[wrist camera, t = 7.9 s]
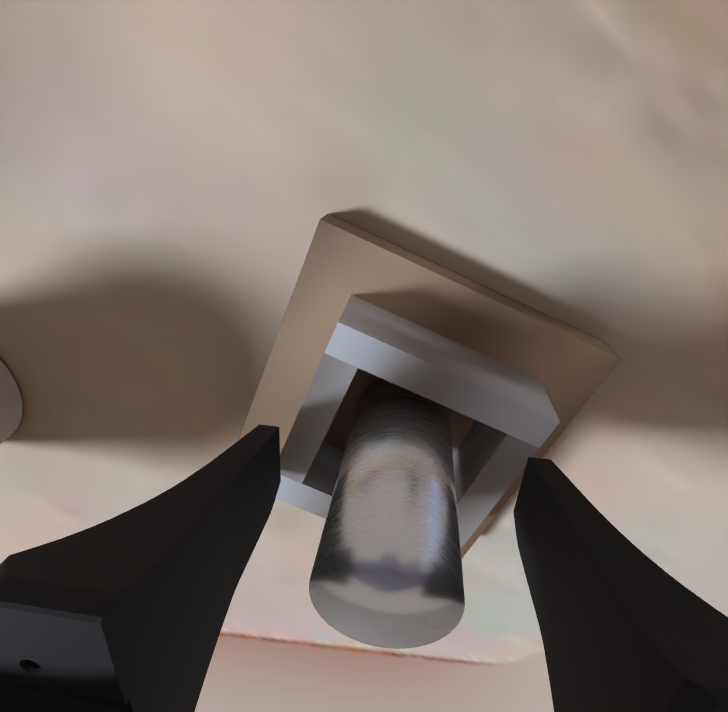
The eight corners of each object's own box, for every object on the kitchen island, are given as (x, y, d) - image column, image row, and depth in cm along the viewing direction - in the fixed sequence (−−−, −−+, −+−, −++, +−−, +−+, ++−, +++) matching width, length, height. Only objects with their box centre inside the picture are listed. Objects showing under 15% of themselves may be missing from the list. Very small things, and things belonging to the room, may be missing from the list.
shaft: (461, 386, 15) (486, 566, 8) (434, 461, 16) (438, 663, 10) (367, 363, 15) (323, 524, 9) (348, 439, 16) (298, 625, 10)
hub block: (606, 342, 15) (656, 398, 12) (459, 535, 19) (466, 615, 16) (328, 213, 14) (299, 234, 11) (241, 444, 18) (202, 507, 15)
